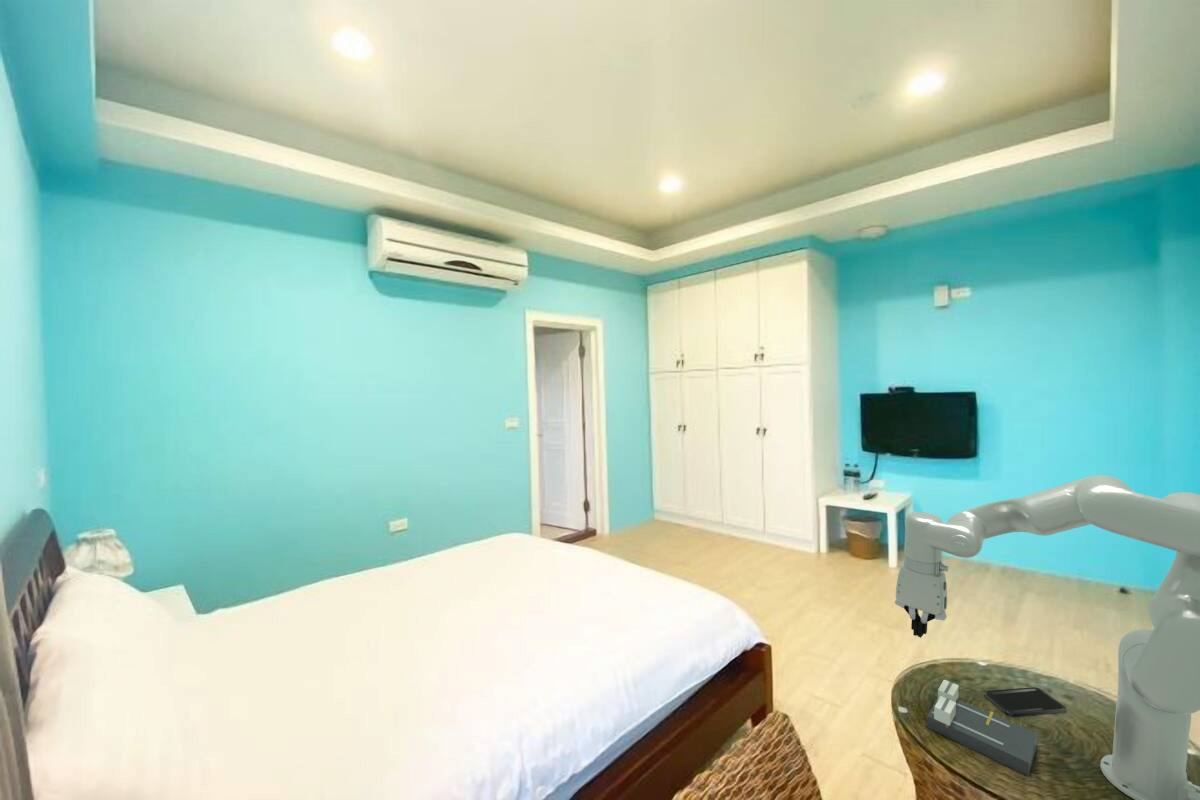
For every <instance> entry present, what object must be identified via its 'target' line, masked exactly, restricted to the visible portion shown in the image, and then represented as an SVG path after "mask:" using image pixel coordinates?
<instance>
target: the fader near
mask: <svg viewBox="0 0 1200 800" xmlns="http://www.w3.org/2000/svg"><path fill="white" fill-rule="evenodd" d="M955 714H956V702H954V701H952V700H950V699H948V698H945V697H942V696H940V698H939V700H938V701H937V703H936V705H935V707H934V719H936V720H938V721H940V722H942V723H944V724H946V725H949V726H950V724H951V722H952V720H953V718H954V716H955Z"/></svg>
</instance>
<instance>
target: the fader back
mask: <svg viewBox="0 0 1200 800" xmlns="http://www.w3.org/2000/svg"><path fill="white" fill-rule="evenodd" d="M959 687H960V686H959V685H958V684H956V683H953V682H952V681H948V680H946V679H943V680H942V682H941V684H940V686H939V687H938V689H937V698H938V700H939V698H940V696H942V697H945V698H948V699H950V700H952V701H954V702H956V700H958V699H959Z"/></svg>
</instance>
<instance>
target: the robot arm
mask: <svg viewBox="0 0 1200 800" xmlns="http://www.w3.org/2000/svg"><path fill="white" fill-rule="evenodd" d="M1090 525H1092V526H1095V527H1096V528H1099V529H1102V530H1104V531H1107V532H1110V533H1112V534H1115V535H1116V534H1117V535H1120V536H1123V537H1126V538H1129V539H1134V540H1136V541H1140V542H1143V543H1146V544H1150V545H1153V546H1158V547H1161V548H1164V549H1168V550H1172V551H1175V552H1176V554H1175V555H1174V556H1175V557H1174V559H1173V561H1172V564H1171V566H1170V568H1169V570H1168V572H1167V574H1166V575H1165V577H1164V578H1163V580H1162V581H1161V583H1160V586H1159V587H1158V589H1157V590H1156V591H1155V593H1154V594H1153V596H1152V597H1151V600H1150V601H1149V603H1148V607H1147V611H1148V615H1149V618H1150V620H1151V623H1152V626H1153V629H1147V628H1146V629H1142V628H1141V629H1135V630H1132V631H1130V632H1127V633H1126V634H1125V635H1124V636H1123V637H1122V638H1121V639H1120V642H1119V645H1118V652H1117V654H1118V657H1117V658H1118V659H1117V660H1118V661H1117V662H1118V663H1117V664H1118V672H1117V673H1118V674H1117V675H1118V677H1117V678H1118V680H1117V694H1116V697H1117V698H1116V704H1115V705H1116V706H1115V719H1114V728H1113V729H1114V731H1113V732H1114V733H1113V743H1112V744H1113V745H1112V754H1108V755H1107V754H1106V755H1104V756H1103V757H1101V760H1100V771H1101V773H1102V774H1103V776H1104V777H1105V778H1106V779H1107V780H1108V781H1109V782H1110V783H1111V784H1112V785H1113V786H1114V787H1115V788H1117V789H1118V790H1119V791H1120V792H1122V793H1123V794H1124V795H1126V796H1128V797H1130V798H1132V799H1133V800H1200V786H1198V785H1197V784H1194V783H1192V781H1190V780H1188V772H1186V771H1187V760H1188V750H1189V741H1190V740H1189V739H1190V732H1191V731H1190V730H1191V725H1192V724H1191V723H1192V722H1191V721H1192V714H1194V713H1197V712H1200V494H1198V493H1194V492H1187V491H1182V492H1173V493H1170V494H1167V495H1166V496H1163V498H1158V497H1155V496H1152V495H1147V494H1144V493H1139V492H1136V491H1134V490H1132V488H1130V486H1129V485H1128V484H1126V483H1125V482H1123V481H1122V480H1121V479H1119V478H1117V477H1114V476H1111V475H1106V474H1098V475H1091V476H1087V477H1083V478H1081V479H1077V480H1074V481H1071V482H1067V483H1064V484H1061V485H1058V486H1053V487H1051V488H1047V489H1045V490H1042V491H1038V492H1035V493H1032V494H1028V495H1025V496H1021V497H1017V498H1009V499H1005V500H998V501H992V502H989V503H985V504H981V505H979V506H975V507H973V508H969V509H966V510H963V511H960V512H957V513H955V514H953V515H952V516H951V517H950V518H949V519H948V520H947V521H946V522H943V520H942V518H940V517H939V516H938V515H936V514H933V513H930V512H922V511H914V512H911V513H908V514H907V515H906V518H905V527H904V528H905V531H904V551H903V552H904V553H903V562H901V564H900V567H899V570H898V575H897V580H896V585H895V587H896V588H895V601H894V603H895V605H896V606H898V607H899V608H902V609H904V610H905V612H906V613H907V614H908V615H909V618H910V619H911V627H910V629H911V630H912V633H913V636H915V637H918V638H921V639H922V637H923V635H926V634H928V633H927V632H928V623H929V622H930V621H932V620H940V621H945V620H946V619H947V613H946V610H947V607H948V587H947V586H948V585H947V578H946V574H945V572H948V571H949V565H946V564H944V563H943V559H942V552H945V553H947V554H949V555H952V556H956V557H958V558H964V559H965V558H966V559H968V558H974V557H976V556H977V555H979V553H980V552H981V551H982V549H983V544H984V541H985V540H986V539H990V538H994V537H997V536H1003V535H1006V534H1011V533H1029V534H1033V535H1036V536H1042V537H1043V536H1044V537H1045V536H1052V535H1054V534H1055V535H1056V534H1058V533H1063V532H1066V531H1071V530H1073V529H1077V528H1082V527H1086V526H1090ZM919 611H922V614H921V615H920V613H919Z"/></svg>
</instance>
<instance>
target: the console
mask: <svg viewBox="0 0 1200 800" xmlns="http://www.w3.org/2000/svg"><path fill="white" fill-rule="evenodd" d="M937 701H938V697H937V698H936V700H935V701H934V703H933V705H932V707H931V709H929V712H928V713H927V716H926V728H927V729H929V730H931V731H933V732H935V733H938V734H939V735H942V736H943V737H945V738H948V739H950V740H952V741H953V742H956V743H957V744H960V745H962V746H965V748H966V747H967V748H969V749H971V750H972V751H975V752H977V753H979V754H981V755H983V756H985V757H988V758H989V759H992V760H994V761H996V762H998V763H1000V764H1002V765H1003V766H1006V767H1008V768H1010V769H1012V770H1015V771H1016V772H1019V773H1021V774H1023V775H1025V776H1027V777H1029V776H1030V773H1031V768H1032V765H1033V760H1034V759H1035V758H1034V757H1035V754H1036V750H1037V748H1038V732H1035V731H1033V730H1031V729H1028V728H1026V727H1023V726H1021V725H1019V724H1016V723H1015V722H1011V721H1009V720H1007V719H1004V718H1002V717H1000V716H997V715H995V714H994V713H995V712H994V711H991V710H990V712H988V711H985V710H983V709H981V708H978V707H976V706H973V705H972V704H970V703H967V702H964V701H961V700H960V699H957V700H956V714H955V716H954V718H953V720H952V722H951V724H950V726H949V725H946V724H944V723H942V722H940V721H938V720H936V719H934V707H935V705H936V703H937Z"/></svg>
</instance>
